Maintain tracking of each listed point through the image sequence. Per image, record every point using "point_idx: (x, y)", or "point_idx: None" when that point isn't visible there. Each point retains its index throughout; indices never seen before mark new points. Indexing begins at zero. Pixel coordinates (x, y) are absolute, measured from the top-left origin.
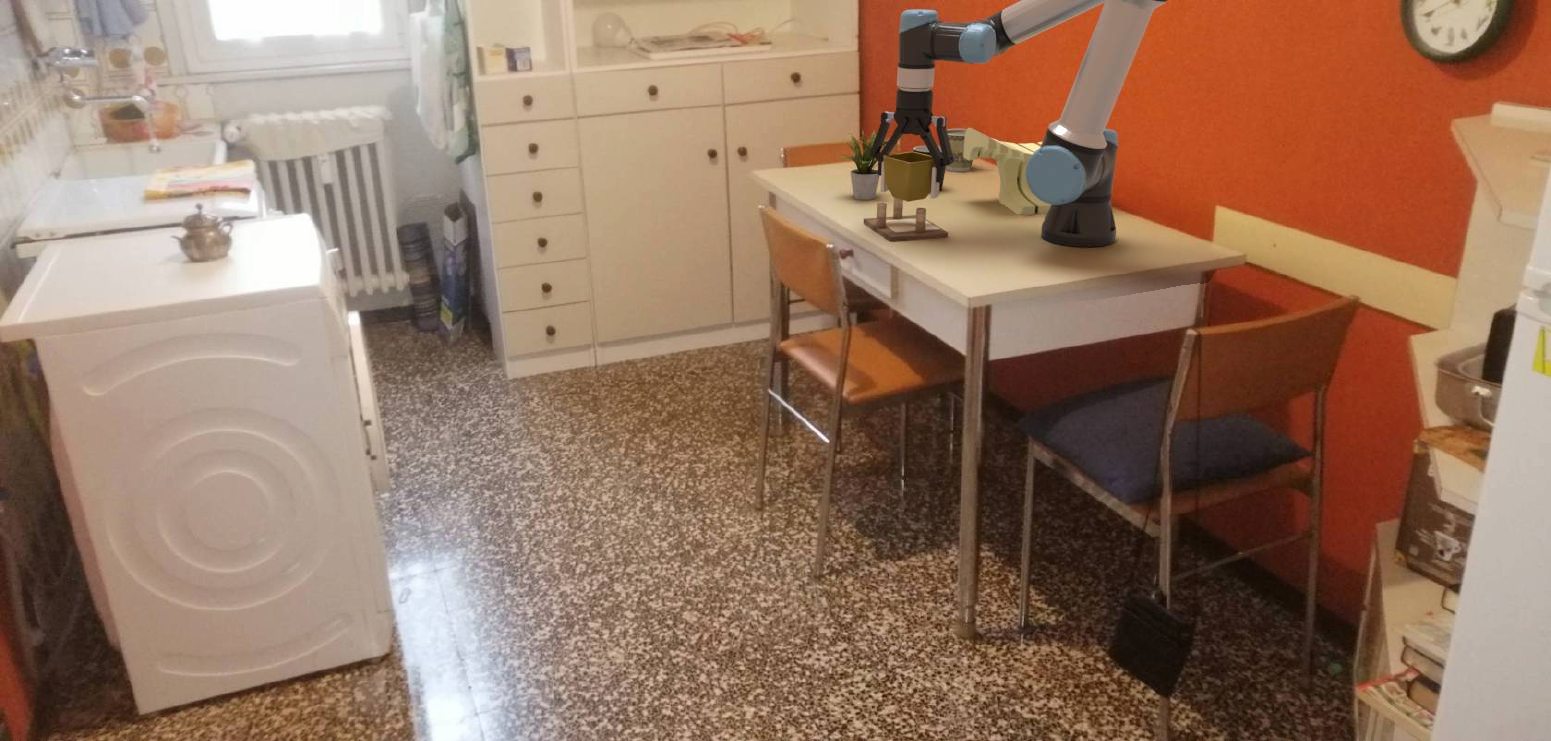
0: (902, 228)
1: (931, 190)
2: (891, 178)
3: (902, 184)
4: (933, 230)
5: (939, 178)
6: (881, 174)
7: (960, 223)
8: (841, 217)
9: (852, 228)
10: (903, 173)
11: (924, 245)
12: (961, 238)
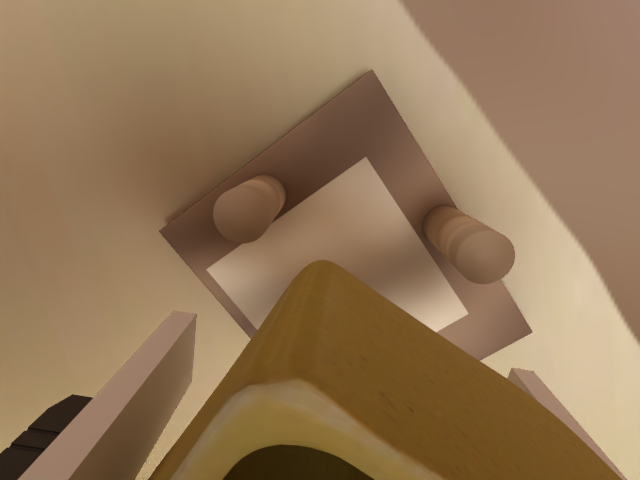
0: (349, 226)
1: (170, 344)
2: (513, 394)
3: (385, 301)
4: (223, 242)
5: (53, 424)
6: (623, 478)
7: (188, 415)
8: (615, 375)
9: (559, 236)
10: (397, 347)
11: (216, 65)
12: (117, 227)
